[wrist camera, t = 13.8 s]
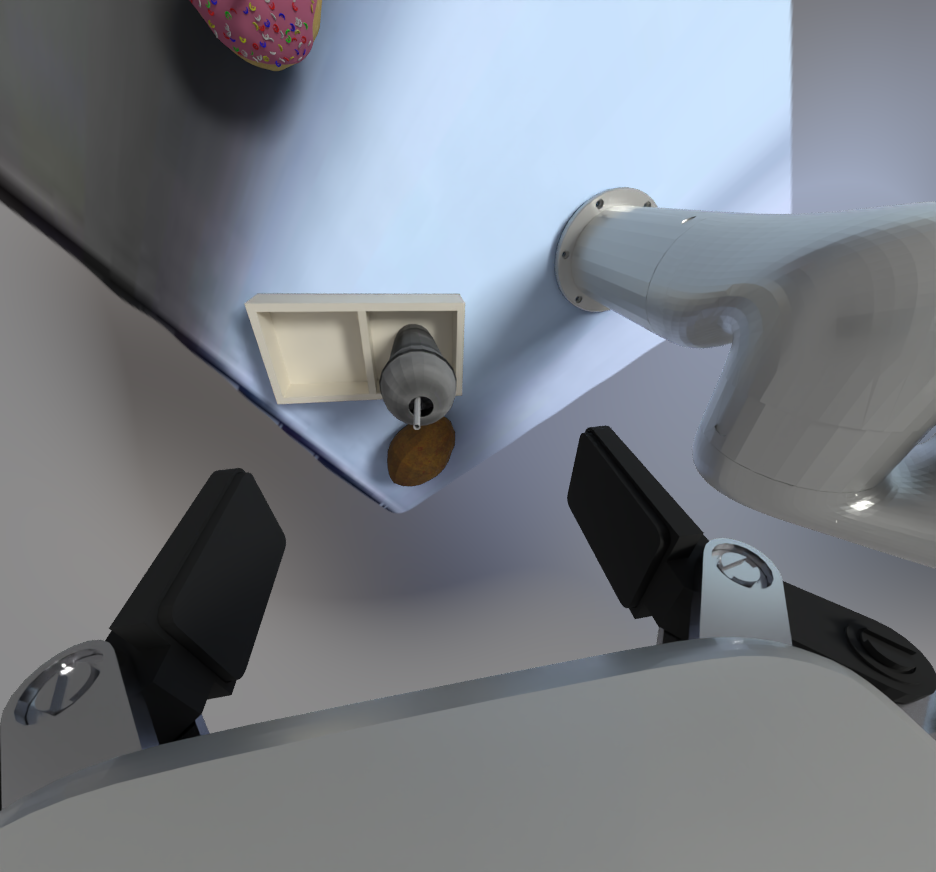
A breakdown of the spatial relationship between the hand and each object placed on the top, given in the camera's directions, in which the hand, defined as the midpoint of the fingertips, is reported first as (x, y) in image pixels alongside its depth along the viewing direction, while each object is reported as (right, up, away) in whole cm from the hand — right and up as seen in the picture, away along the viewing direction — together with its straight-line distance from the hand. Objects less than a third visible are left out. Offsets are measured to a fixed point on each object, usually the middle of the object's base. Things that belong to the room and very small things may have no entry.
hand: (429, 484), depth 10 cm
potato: (-6, +1, +40) cm, 41 cm away
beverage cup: (-5, +13, +31) cm, 34 cm away
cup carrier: (-11, +13, +31) cm, 35 cm away
